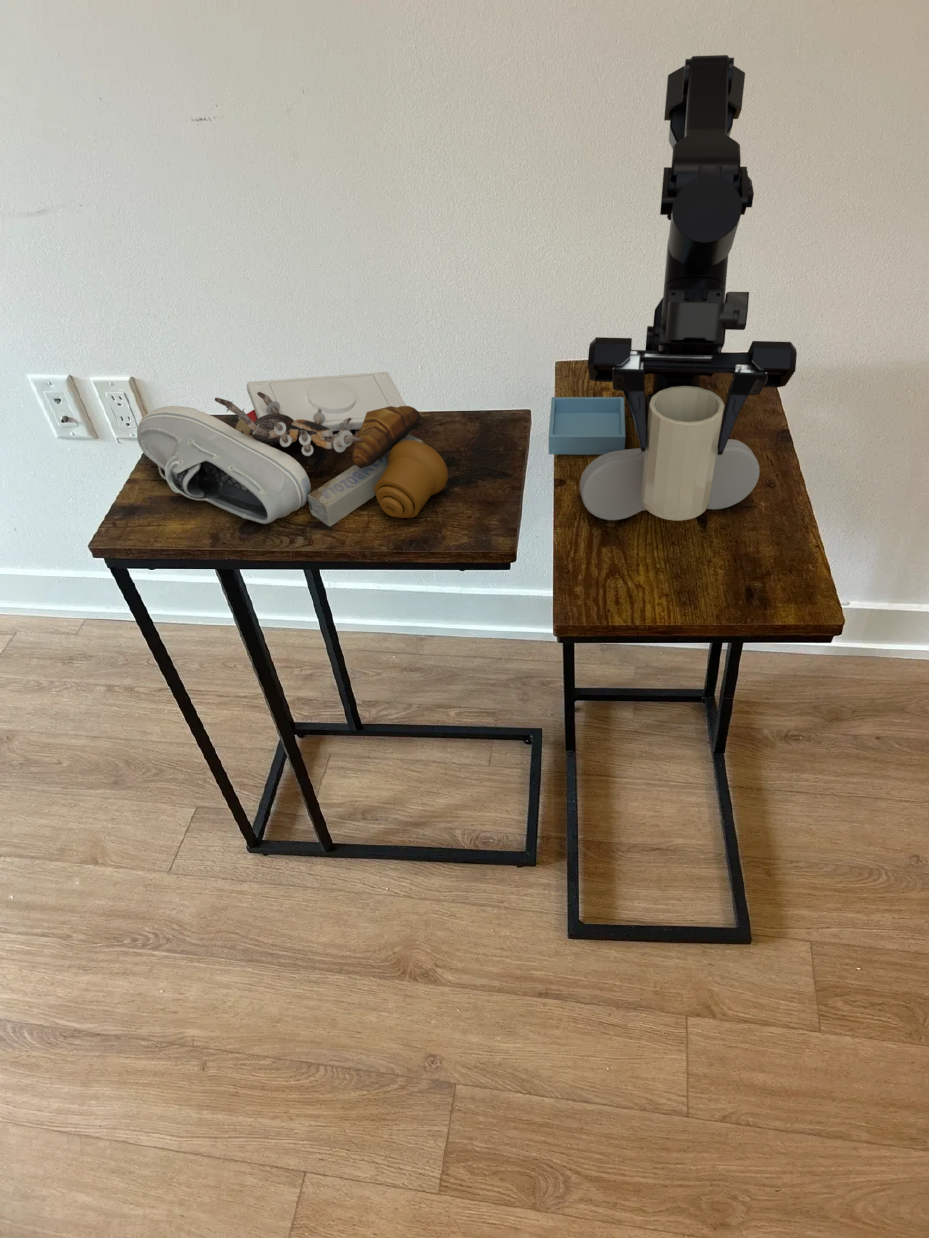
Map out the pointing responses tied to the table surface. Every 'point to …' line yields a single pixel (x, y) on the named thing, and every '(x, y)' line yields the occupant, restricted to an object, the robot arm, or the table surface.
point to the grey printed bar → (348, 490)
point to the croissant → (383, 432)
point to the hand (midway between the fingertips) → (681, 452)
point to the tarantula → (293, 428)
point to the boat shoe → (222, 464)
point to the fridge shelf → (586, 425)
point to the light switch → (328, 397)
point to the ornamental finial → (410, 478)
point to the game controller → (619, 477)
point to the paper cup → (681, 451)
